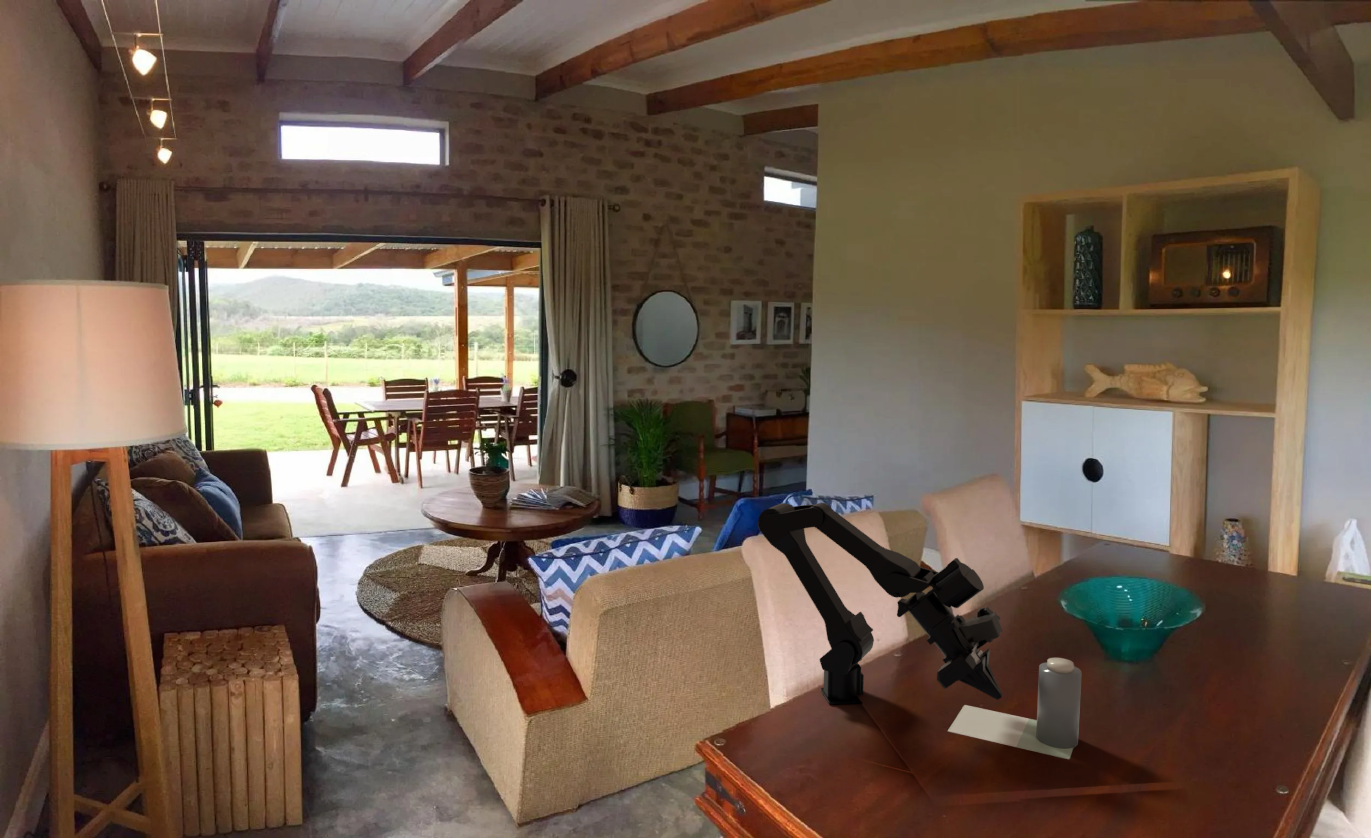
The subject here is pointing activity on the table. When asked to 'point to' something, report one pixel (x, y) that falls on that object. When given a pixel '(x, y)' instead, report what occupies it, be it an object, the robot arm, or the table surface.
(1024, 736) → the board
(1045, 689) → the jar
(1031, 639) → the table surface
